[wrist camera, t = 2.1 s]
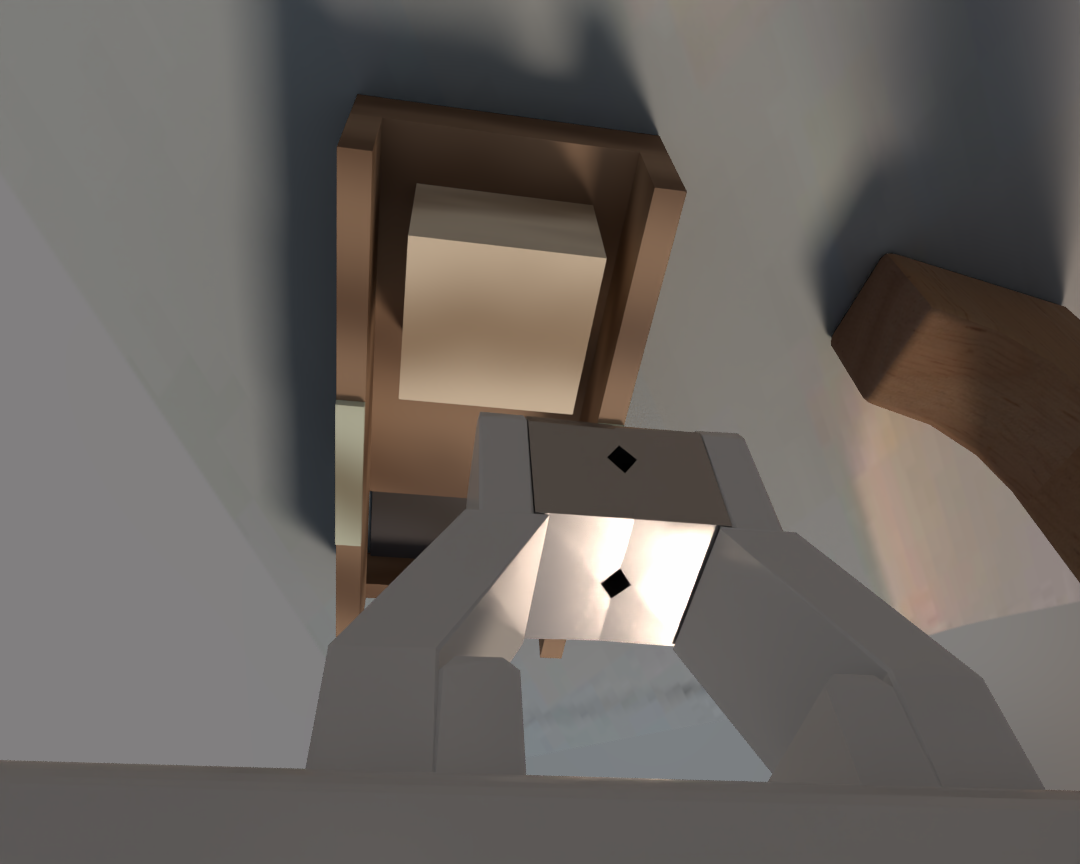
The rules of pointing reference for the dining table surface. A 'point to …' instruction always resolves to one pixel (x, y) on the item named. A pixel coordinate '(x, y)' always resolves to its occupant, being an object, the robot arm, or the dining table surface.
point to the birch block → (498, 299)
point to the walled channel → (379, 291)
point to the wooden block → (977, 379)
